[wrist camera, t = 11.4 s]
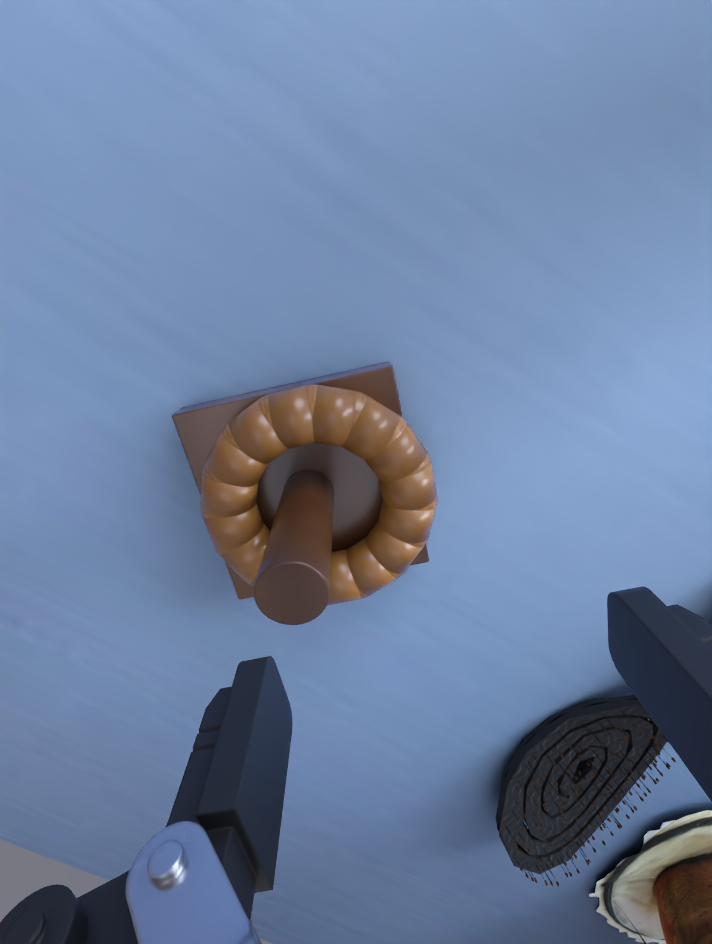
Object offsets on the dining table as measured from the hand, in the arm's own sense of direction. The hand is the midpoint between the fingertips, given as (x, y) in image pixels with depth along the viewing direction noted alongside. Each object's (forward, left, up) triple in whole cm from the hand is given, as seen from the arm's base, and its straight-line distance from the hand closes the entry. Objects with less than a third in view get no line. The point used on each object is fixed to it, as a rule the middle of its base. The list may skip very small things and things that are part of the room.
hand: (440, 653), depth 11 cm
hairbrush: (-12, +19, -13) cm, 26 cm away
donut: (+4, 0, -10) cm, 11 cm away
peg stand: (+4, 0, -13) cm, 14 cm away
